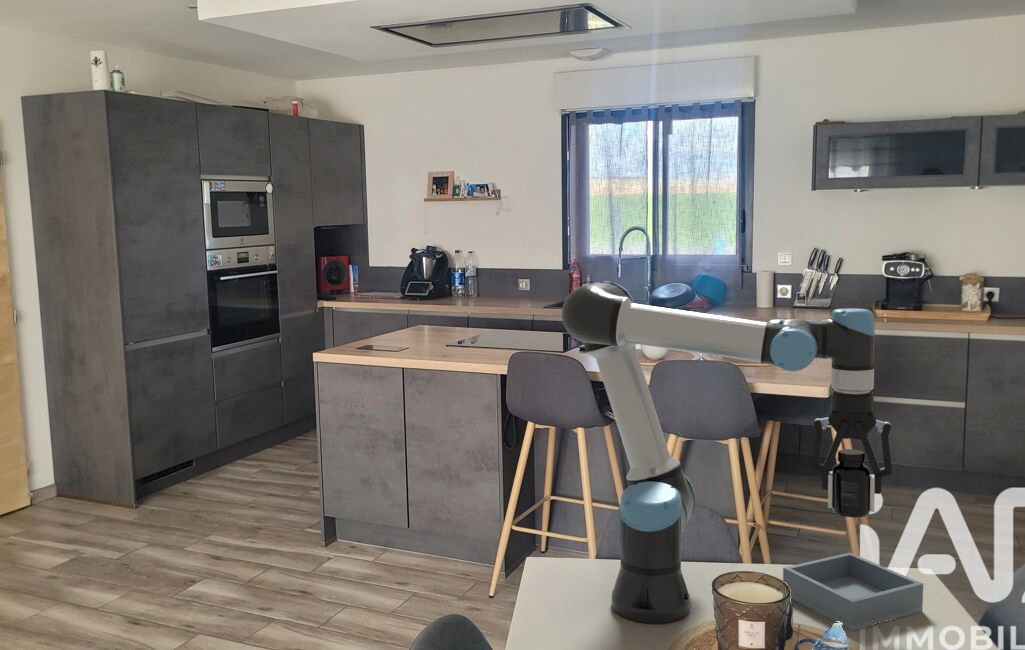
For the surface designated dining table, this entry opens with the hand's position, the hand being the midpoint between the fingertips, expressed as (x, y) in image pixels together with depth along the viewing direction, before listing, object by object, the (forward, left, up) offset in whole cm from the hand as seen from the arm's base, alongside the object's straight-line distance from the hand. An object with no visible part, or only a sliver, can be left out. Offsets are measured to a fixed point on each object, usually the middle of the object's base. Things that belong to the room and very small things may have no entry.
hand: (851, 507), depth 165 cm
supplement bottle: (0, 0, -1) cm, 1 cm away
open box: (0, +1, -20) cm, 20 cm away
